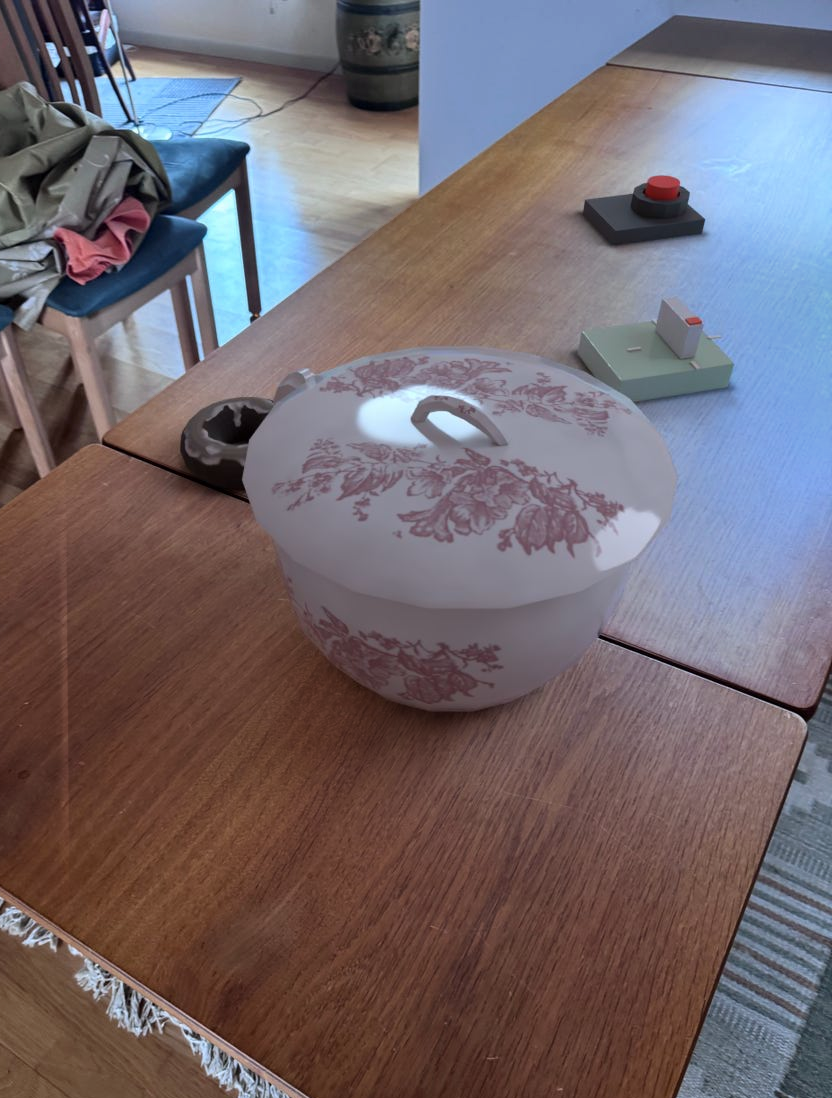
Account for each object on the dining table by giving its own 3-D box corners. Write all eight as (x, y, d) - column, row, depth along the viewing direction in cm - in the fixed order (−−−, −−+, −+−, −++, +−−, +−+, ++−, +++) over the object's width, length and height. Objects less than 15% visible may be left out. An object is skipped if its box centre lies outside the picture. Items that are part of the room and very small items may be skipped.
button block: (666, 205, 122) (673, 174, 119) (701, 236, 115) (709, 204, 112) (582, 216, 120) (586, 185, 118) (612, 248, 114) (618, 216, 111)
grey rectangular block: (654, 330, 94) (662, 295, 91) (669, 327, 94) (677, 293, 92) (680, 359, 90) (689, 324, 87) (695, 357, 90) (704, 322, 88)
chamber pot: (674, 765, 61) (769, 530, 46) (268, 796, 61) (228, 568, 45) (576, 504, 80) (620, 276, 65) (266, 525, 80) (237, 300, 64)
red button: (668, 187, 117) (671, 173, 116) (682, 200, 114) (685, 185, 113) (639, 191, 117) (642, 177, 115) (653, 203, 114) (656, 189, 113)
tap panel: (690, 339, 98) (697, 311, 96) (737, 389, 92) (746, 360, 89) (576, 356, 97) (581, 328, 94) (615, 408, 90) (621, 379, 88)
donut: (332, 456, 86) (330, 420, 83) (238, 515, 81) (232, 478, 78) (251, 410, 92) (247, 374, 89) (159, 462, 86) (150, 426, 83)
